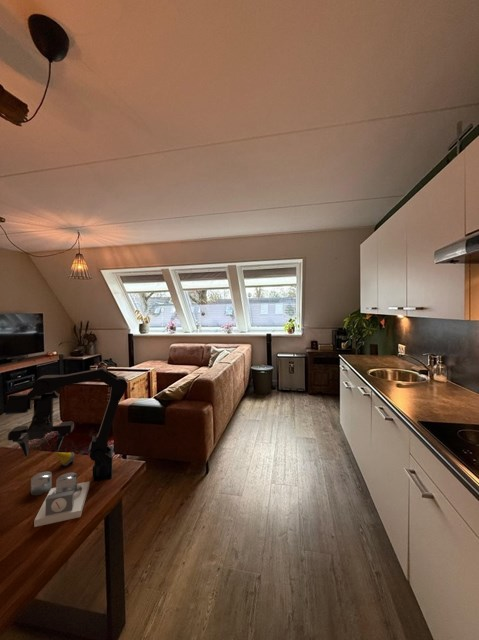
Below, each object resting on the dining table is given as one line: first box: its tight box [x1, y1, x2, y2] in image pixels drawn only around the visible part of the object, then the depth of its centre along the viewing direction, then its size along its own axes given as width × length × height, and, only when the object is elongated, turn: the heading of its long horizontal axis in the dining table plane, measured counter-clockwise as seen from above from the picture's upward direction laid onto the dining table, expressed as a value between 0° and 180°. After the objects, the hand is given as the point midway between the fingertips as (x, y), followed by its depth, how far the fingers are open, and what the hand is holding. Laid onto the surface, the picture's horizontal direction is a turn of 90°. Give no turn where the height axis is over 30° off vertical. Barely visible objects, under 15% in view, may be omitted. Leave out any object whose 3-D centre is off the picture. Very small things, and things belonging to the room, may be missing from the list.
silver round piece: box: [55, 471, 78, 494], centre depth 89 cm, size 6×6×5 cm
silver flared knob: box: [30, 471, 53, 496], centre depth 95 cm, size 6×6×5 cm
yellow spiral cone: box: [54, 451, 76, 467], centre depth 112 cm, size 5×5×10 cm
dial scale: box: [33, 481, 91, 528], centre depth 87 cm, size 12×16×7 cm
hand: (42, 453), depth 95 cm, fingers open, 9 cm apart
